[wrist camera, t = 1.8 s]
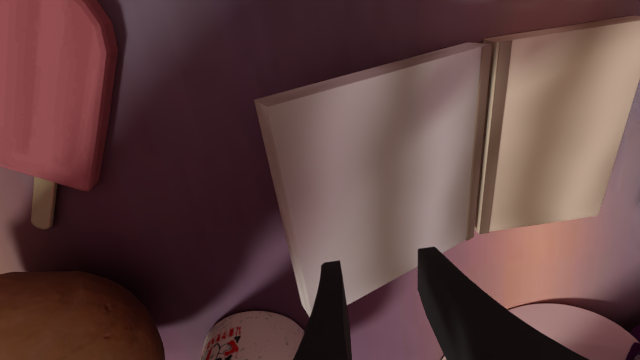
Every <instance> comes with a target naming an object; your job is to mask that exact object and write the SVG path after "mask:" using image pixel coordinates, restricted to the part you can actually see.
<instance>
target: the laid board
mask: <svg viewBox="0 0 640 360" xmlns="http://www.w3.org/2000/svg"><path fill="white" fill-rule="evenodd" d="M483 43H484V44H492V50H491V61H490V71H489V81H488V92H487V102H486V113H485V123H484V134H483V144H482V154H481V165H480V175H479V186H478V196H477V206H476V217H475V227H474V229H475V230H476V232H477V233H480V234H483V233H489V232H490V231H497V230H504V229H510V228H517V227H524V226H531V225H538V224H545V223H551V222H558V221H565V220H572V219H579V218H585V217H592V216H598V214H599V211H600V208H601V205H602V201H603V198H604V195H605V191H606V188H607V185H608V181H609V178H610V175H611V172H612V168H613V165H614V162H615V158H616V155H617V152H618V148H619V145H620V142H621V139H622V135H623V132H624V129H625V125H626V122H627V119H628V115H629V112H630V109H631V106H632V102H633V99H634V96H635V92H636V89H637V86H638V82H639V79H640V16H627V17H621V18H614V19H608V20H601V21H595V22H589V23H582V24H576V25H569V26H563V27H556V28H550V29H543V30H537V31H530V32H524V33H517V34H511V35H504V36H498V37H491V38H485V39H483Z"/></svg>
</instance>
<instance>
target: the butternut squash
mask: <svg viewBox="0 0 640 360" xmlns="http://www.w3.org/2000/svg"><path fill="white" fill-rule="evenodd" d="M0 360H165V354H164V347H163V343H162V340H161V337H160V334H159V332H158V329H157V327H156V325H155V323H154V321H153V319H152V317H151V315H150V314H149V312H148V310H147V308H146V307H145V305H144V304H143V303H142V302H141V301H140V300H139V299H138V298H137V297H136V296H135V295H134V294H133V293H132V292H130V291H129V290H128V289H126V288H124V287H123V286H121V285H119V284H118V283H116V282H114V281H111V280H109V279H107V278H104V277H101V276H98V275H94V274H91V273H87V272H84V271H51V272H10V273H5V274H0Z"/></svg>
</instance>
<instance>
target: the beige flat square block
mask: <svg viewBox="0 0 640 360" xmlns="http://www.w3.org/2000/svg"><path fill="white" fill-rule="evenodd" d="M491 50H492V44H484V43H469V42H467V43H463V44H459V45H456V46H452V47H448V48H444V49H441V50H437V51H433V52H430V53H426V54H422V55H418V56H415V57H411V58H407V59H404V60H400V61H396V62H392V63H389V64H385V65H381V66H378V67H374V68H370V69H366V70H363V71H359V72H355V73H352V74H348V75H344V76H340V77H337V78H333V79H329V80H326V81H322V82H318V83H314V84H311V85H307V86H303V87H300V88H296V89H292V90H288V91H285V92H281V93H277V94H274V95H270V96H266V97H262V98H259V99H255V100H254V102H255V106H256V111H257V115H258V119H259V124H260V128H261V132H262V136H263V141H264V145H265V149H266V154H267V158H268V162H269V166H270V171H271V175H272V179H273V184H274V188H275V192H276V196H277V201H278V205H279V209H280V214H281V218H282V222H283V227H284V231H285V235H286V239H287V244H288V248H289V252H290V257H291V261H292V265H293V269H294V274H295V278H296V282H297V287H298V291H299V295H300V299H301V304H302V306H303V308H304V309H305V311H306V312H307V314H308V315H309V317H310V315H311V312H312V309H313V306H314V302H315V298H316V295H317V291H318V286H319V281H320V274H321V265H322V264H323V263H325V262H332V261H338V260H340V264H341V269H342V276H343V283H344V290H345V296H346V303H347V305H348V304H350V303H352V302H354V301H356V300H358V299H359V298H361V297H363V296H365V295H367V294H368V293H370V292H372V291H374V290H376V289H378V288H379V287H381V286H383V285H385V284H387V283H388V282H390V281H392V280H394V279H396V278H397V277H399V276H401V275H403V274H405V273H407V272H408V271H410V270H412V269H414V268H416V267H417V266H418V249H420V248H427V247H436V248H437V249H438V250H439V251H440V252H441V253H443V252H445V251H446V250H448V249H450V248H452V247H454V246H456V245H457V244H459V243H461V242H463V241H465V240H469V239H471V238H473V237H474V227H475V217H476V206H477V196H478V186H479V175H480V165H481V154H482V144H483V134H484V123H485V113H486V102H487V92H488V81H489V71H490V61H491Z"/></svg>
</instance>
